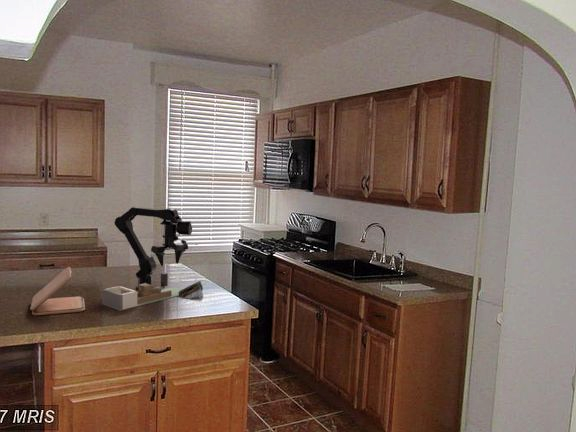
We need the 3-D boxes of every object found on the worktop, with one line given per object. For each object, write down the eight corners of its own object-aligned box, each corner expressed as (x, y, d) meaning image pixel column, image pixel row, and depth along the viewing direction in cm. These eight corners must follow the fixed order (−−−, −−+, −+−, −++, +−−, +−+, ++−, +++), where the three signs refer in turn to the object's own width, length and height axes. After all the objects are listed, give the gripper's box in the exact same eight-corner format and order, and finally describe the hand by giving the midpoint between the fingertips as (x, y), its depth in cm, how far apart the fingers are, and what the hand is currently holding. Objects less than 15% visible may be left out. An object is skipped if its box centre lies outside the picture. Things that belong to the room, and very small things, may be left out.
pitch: (102, 304, 220) (102, 298, 219) (172, 288, 252) (172, 283, 251) (120, 310, 212) (120, 304, 212) (190, 293, 244) (190, 287, 244)
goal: (102, 303, 220) (102, 289, 219) (119, 299, 227) (119, 285, 226) (120, 310, 212) (120, 295, 211) (137, 305, 219) (137, 291, 218)
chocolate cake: (179, 301, 232) (199, 284, 233) (176, 293, 238) (195, 276, 238) (192, 311, 238) (211, 294, 238) (189, 303, 243) (207, 287, 244)
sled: (138, 297, 230) (138, 277, 229) (163, 291, 242) (163, 272, 241) (145, 299, 227) (145, 279, 226) (169, 293, 239) (170, 274, 238)
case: (32, 302, 218) (32, 267, 216) (84, 299, 227) (84, 264, 225) (29, 317, 200) (28, 278, 198) (85, 313, 208) (85, 275, 206)
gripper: (164, 237, 232) (164, 270, 234) (195, 234, 247) (194, 265, 249) (150, 234, 239) (150, 266, 241) (181, 231, 254) (180, 261, 256)
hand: (169, 264), depth 246 cm, fingers open, 9 cm apart
